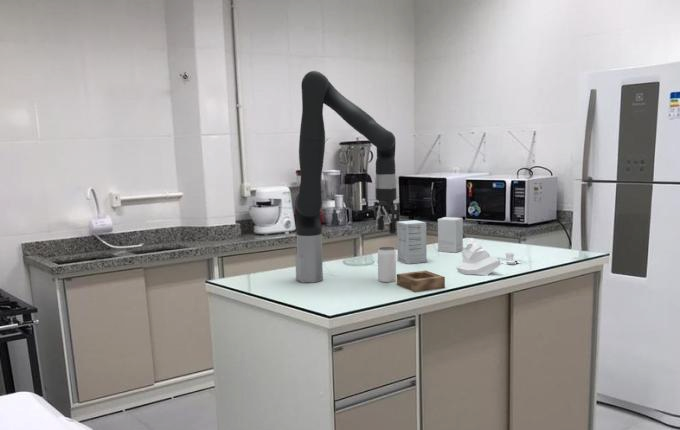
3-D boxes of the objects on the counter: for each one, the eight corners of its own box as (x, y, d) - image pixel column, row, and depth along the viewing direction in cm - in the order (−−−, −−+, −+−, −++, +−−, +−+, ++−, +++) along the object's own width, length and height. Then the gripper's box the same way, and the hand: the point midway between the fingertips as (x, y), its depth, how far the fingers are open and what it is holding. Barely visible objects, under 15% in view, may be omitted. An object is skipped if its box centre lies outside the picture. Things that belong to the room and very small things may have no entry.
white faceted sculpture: (474, 282, 217) (463, 245, 216) (455, 276, 231) (445, 242, 230) (502, 270, 220) (492, 234, 219) (482, 266, 235) (472, 232, 233)
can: (395, 283, 212) (394, 250, 210) (377, 282, 213) (376, 249, 211) (396, 278, 218) (396, 246, 216) (379, 278, 219) (379, 246, 218)
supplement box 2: (463, 249, 272) (463, 217, 271) (456, 253, 265) (456, 219, 263) (444, 248, 277) (444, 216, 275) (437, 251, 270) (437, 218, 268)
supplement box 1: (427, 262, 246) (427, 222, 244) (407, 264, 243) (407, 223, 241) (416, 258, 255) (415, 219, 253) (396, 260, 251) (396, 221, 249)
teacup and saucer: (514, 266, 236) (515, 256, 236) (495, 264, 241) (496, 254, 240) (522, 262, 243) (523, 253, 242) (504, 260, 248) (504, 251, 247)
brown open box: (414, 292, 198) (414, 281, 198) (396, 284, 209) (396, 274, 209) (444, 287, 203) (444, 276, 203) (425, 280, 214) (425, 270, 214)
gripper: (367, 186, 216) (368, 230, 218) (386, 188, 203) (387, 235, 205) (385, 185, 219) (386, 228, 221) (405, 187, 206) (405, 233, 208)
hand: (386, 231), depth 213 cm, fingers open, 8 cm apart
